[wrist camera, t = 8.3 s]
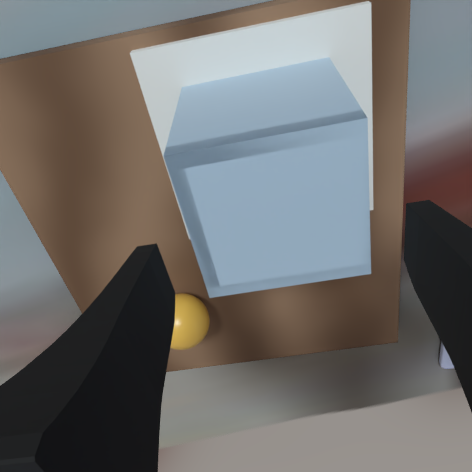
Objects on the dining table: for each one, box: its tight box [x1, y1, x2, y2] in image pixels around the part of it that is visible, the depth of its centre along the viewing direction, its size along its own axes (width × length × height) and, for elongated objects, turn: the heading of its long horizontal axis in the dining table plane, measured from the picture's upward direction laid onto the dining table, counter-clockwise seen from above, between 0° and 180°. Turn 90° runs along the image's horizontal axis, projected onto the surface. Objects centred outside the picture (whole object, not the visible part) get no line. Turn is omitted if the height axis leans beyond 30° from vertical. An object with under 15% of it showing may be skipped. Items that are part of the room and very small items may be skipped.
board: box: [0, 0, 410, 372], centre depth 23 cm, size 18×20×1 cm
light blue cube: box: [164, 57, 371, 298], centre depth 17 cm, size 6×6×6 cm
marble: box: [170, 293, 210, 350], centre depth 24 cm, size 3×3×3 cm
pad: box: [130, 1, 373, 239], centre depth 19 cm, size 9×9×1 cm
